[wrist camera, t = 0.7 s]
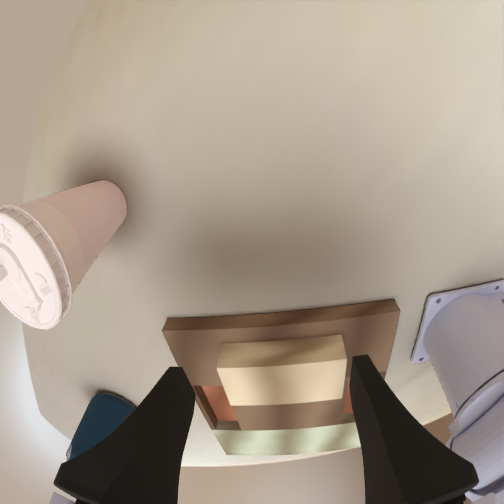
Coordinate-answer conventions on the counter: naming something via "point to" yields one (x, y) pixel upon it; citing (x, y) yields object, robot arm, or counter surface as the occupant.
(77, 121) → the counter surface
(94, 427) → the soda can
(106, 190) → the smoothie
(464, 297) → the robot arm
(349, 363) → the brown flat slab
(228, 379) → the block
